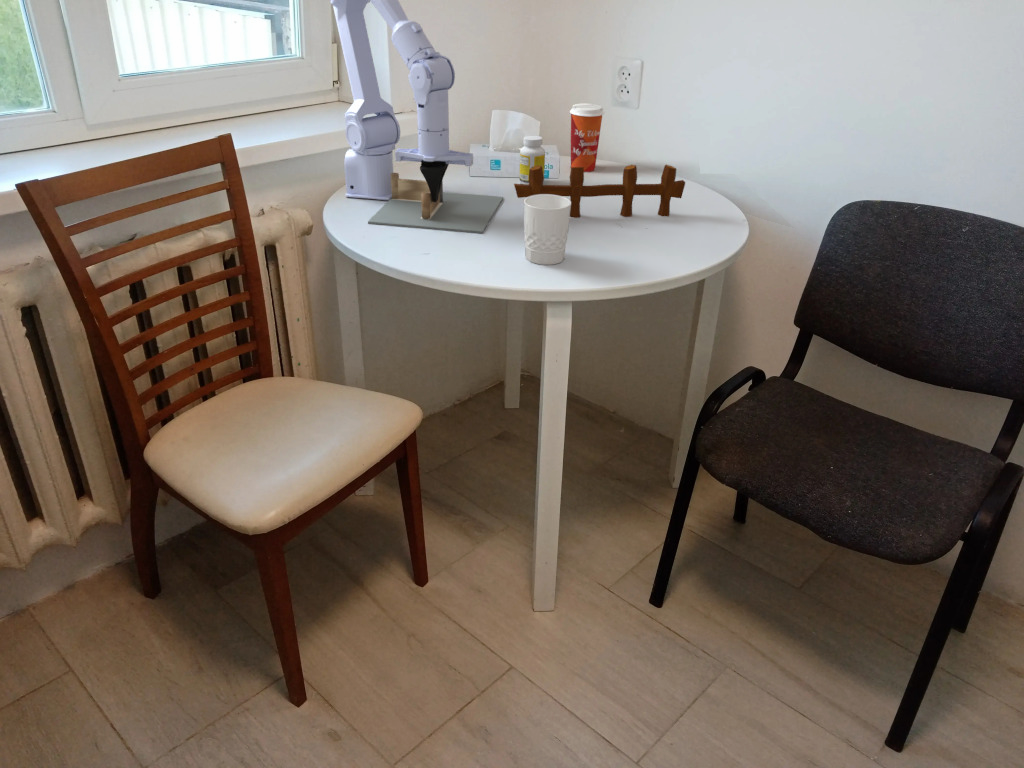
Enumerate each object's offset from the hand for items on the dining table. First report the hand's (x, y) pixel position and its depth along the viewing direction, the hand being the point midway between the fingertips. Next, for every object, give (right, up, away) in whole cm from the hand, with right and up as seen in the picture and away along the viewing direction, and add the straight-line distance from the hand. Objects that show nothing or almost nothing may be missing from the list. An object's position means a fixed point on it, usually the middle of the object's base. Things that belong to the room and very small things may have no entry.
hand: (435, 200), depth 152 cm
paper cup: (+31, +15, +32) cm, 47 cm away
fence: (+32, -2, +4) cm, 32 cm away
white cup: (+20, -14, -15) cm, 29 cm away
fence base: (-4, +2, +8) cm, 9 cm away
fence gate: (-1, -1, +2) cm, 3 cm away
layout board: (0, -1, +4) cm, 4 cm away
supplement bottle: (+19, +9, +22) cm, 30 cm away
